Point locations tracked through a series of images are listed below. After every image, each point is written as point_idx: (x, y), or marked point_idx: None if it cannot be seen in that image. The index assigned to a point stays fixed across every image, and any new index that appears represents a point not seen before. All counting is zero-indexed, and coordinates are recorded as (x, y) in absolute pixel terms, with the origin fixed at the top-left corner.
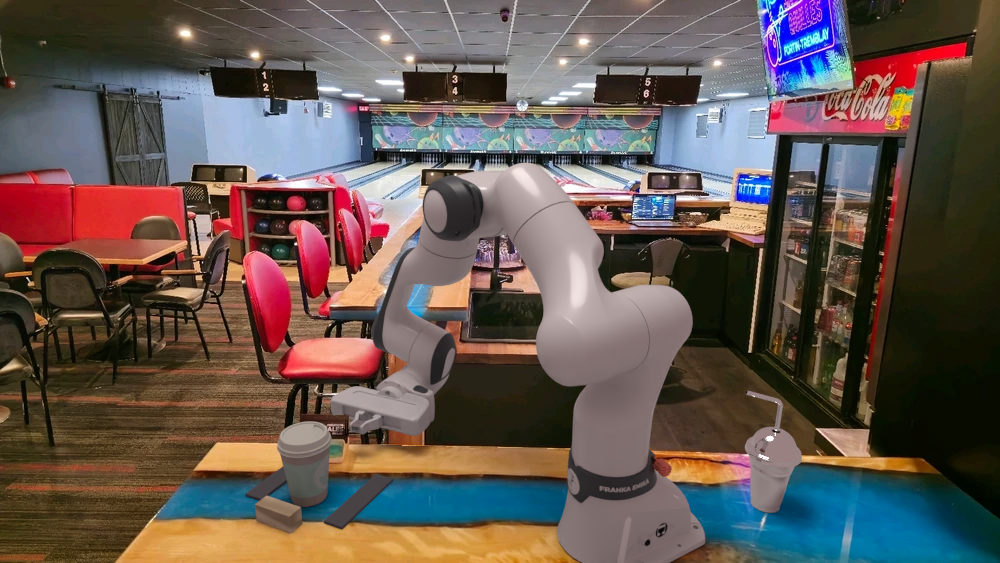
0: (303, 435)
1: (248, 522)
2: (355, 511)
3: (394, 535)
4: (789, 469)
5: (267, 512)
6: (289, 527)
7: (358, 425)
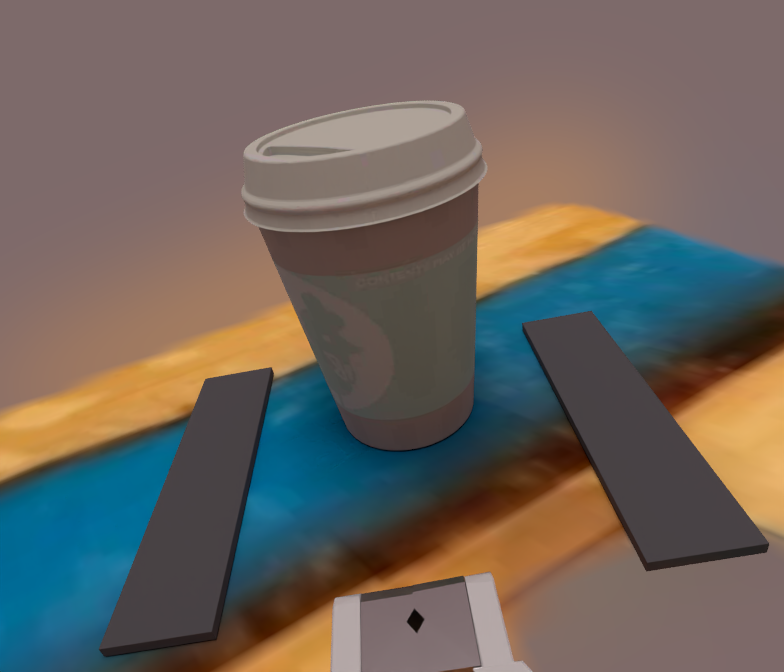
0: (345, 131)
1: None
2: (194, 427)
3: (37, 441)
4: None
5: None
6: None
7: (387, 593)
